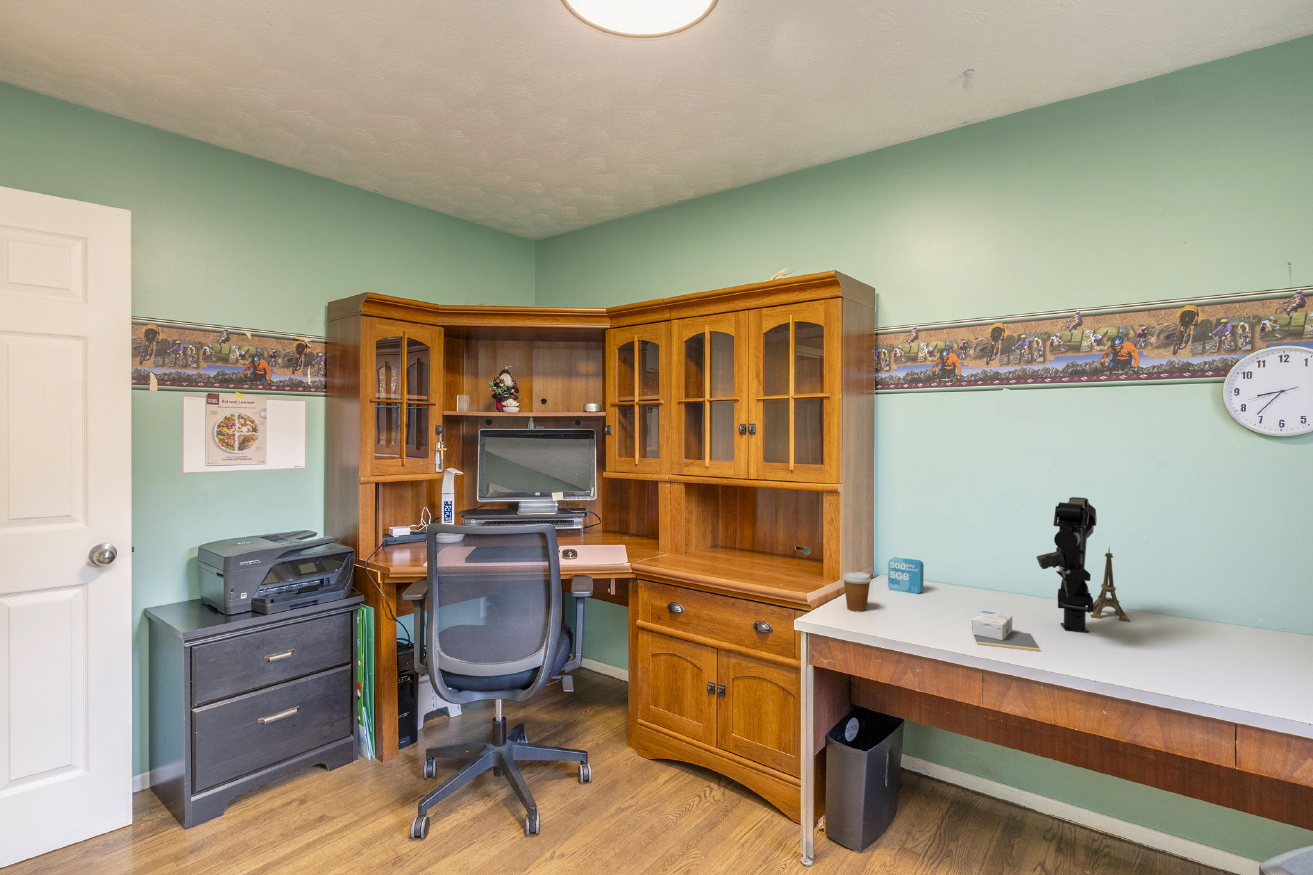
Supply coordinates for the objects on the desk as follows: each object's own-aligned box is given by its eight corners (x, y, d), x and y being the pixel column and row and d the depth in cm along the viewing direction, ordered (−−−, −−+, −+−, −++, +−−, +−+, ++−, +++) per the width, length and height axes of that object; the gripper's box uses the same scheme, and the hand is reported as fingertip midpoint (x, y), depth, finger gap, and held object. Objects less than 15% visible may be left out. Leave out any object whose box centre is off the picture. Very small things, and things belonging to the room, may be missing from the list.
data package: (887, 589, 248) (888, 558, 248) (891, 587, 252) (891, 556, 251) (920, 594, 241) (920, 562, 241) (923, 591, 245) (923, 560, 244)
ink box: (982, 626, 203) (971, 634, 194) (982, 610, 203) (971, 618, 194) (1012, 631, 197) (1002, 641, 188) (1012, 615, 197) (1003, 624, 188)
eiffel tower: (1086, 609, 222) (1087, 537, 221) (1123, 613, 217) (1125, 539, 217) (1091, 617, 212) (1092, 542, 212) (1130, 622, 208) (1132, 545, 207)
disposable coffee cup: (851, 614, 216) (851, 578, 216) (837, 606, 226) (837, 572, 225) (876, 612, 219) (877, 577, 218) (861, 604, 228) (861, 570, 227)
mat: (971, 628, 201) (971, 627, 201) (1030, 634, 195) (1030, 633, 195) (977, 644, 187) (977, 642, 187) (1040, 651, 181) (1040, 649, 181)
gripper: (1033, 538, 202) (1032, 587, 202) (1045, 549, 185) (1045, 603, 185) (1074, 540, 198) (1073, 590, 198) (1091, 551, 181) (1090, 607, 181)
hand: (1069, 597), depth 191 cm, fingers closed
